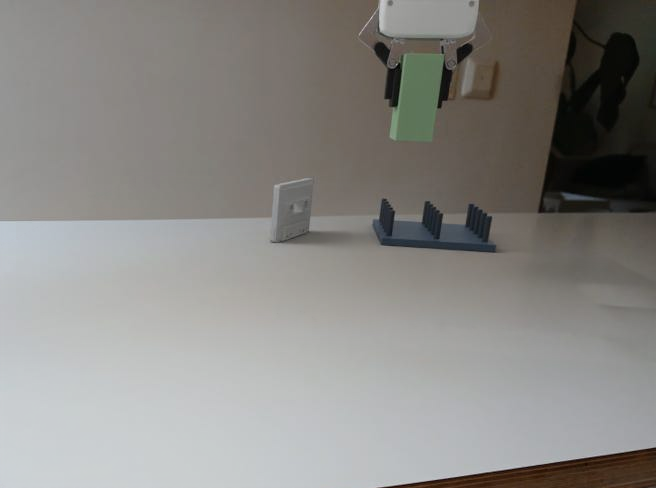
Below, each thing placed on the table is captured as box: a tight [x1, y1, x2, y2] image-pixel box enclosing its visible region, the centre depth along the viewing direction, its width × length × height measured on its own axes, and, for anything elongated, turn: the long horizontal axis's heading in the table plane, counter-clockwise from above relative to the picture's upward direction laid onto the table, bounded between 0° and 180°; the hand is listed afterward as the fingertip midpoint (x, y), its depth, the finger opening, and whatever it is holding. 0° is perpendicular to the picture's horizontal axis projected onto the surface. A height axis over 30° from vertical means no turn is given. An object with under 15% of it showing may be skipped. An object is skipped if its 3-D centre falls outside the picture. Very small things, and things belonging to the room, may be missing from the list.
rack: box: [372, 198, 497, 253], centre depth 107 cm, size 15×16×4 cm
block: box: [389, 52, 444, 143], centre depth 83 cm, size 4×6×9 cm, turn 171°
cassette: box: [269, 177, 315, 243], centre depth 104 cm, size 12×2×8 cm, turn 148°
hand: (414, 105), depth 83 cm, fingers closed on block, 4 cm apart
